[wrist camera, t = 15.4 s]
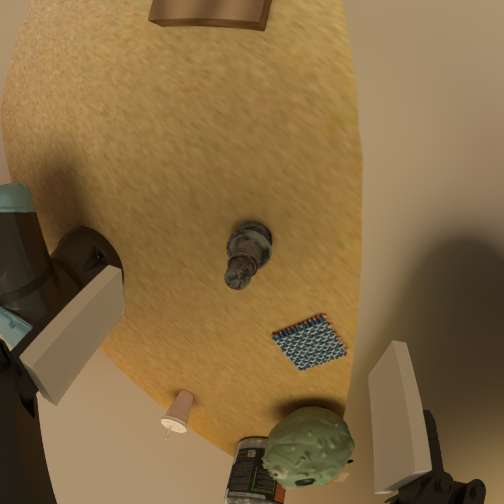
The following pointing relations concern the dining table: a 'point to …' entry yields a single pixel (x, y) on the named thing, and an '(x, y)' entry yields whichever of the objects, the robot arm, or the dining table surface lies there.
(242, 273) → the salt shaker
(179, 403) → the smoothie
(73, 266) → the robot arm
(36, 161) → the dining table surface
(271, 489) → the supplement tub
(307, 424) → the green monster head
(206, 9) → the walnut base
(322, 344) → the woven mat
